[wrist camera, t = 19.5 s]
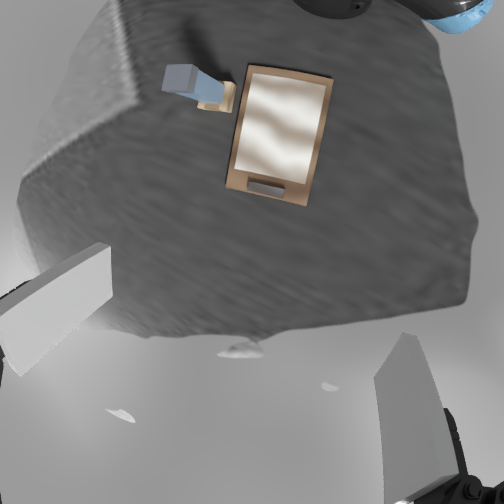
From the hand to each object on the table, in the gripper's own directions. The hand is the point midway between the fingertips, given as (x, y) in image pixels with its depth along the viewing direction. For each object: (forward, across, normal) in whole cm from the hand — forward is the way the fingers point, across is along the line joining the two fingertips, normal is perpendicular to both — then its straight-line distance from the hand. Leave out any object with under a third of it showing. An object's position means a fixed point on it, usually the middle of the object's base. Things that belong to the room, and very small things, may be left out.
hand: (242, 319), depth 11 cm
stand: (+37, -16, +13) cm, 42 cm away
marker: (+35, -16, +13) cm, 41 cm away
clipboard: (+37, -5, +9) cm, 38 cm away
